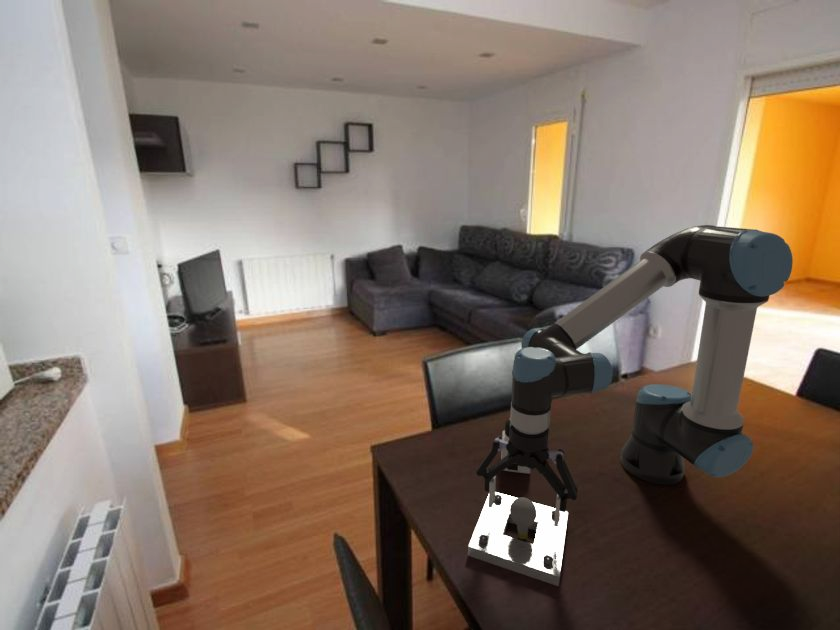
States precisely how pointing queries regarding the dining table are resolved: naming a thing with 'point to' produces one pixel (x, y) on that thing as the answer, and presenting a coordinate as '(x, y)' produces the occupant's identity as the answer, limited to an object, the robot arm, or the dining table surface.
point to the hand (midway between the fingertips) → (523, 512)
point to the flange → (517, 554)
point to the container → (504, 452)
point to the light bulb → (523, 515)
